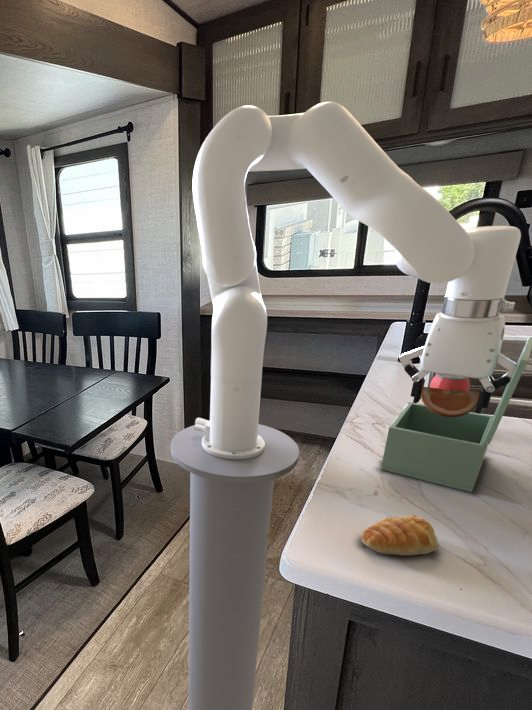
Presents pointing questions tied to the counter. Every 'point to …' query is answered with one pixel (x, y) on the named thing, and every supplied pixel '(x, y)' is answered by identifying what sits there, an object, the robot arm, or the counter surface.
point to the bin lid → (510, 389)
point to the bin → (437, 446)
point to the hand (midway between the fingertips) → (446, 405)
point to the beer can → (450, 382)
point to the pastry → (401, 536)
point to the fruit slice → (449, 401)
